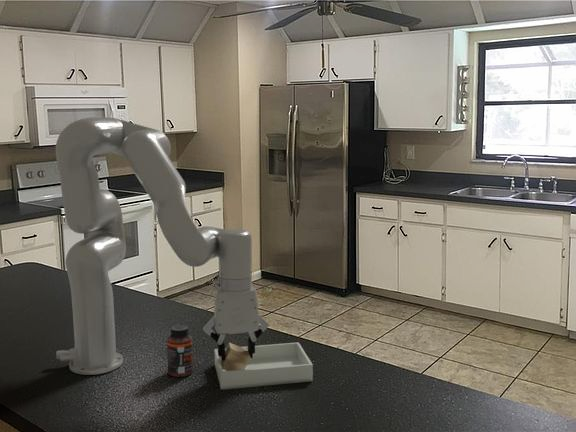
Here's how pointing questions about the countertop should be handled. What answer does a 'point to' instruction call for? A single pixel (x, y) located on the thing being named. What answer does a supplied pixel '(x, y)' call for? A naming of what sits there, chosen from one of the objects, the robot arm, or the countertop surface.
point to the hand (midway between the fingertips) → (236, 356)
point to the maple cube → (235, 358)
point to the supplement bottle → (180, 352)
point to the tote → (268, 367)
